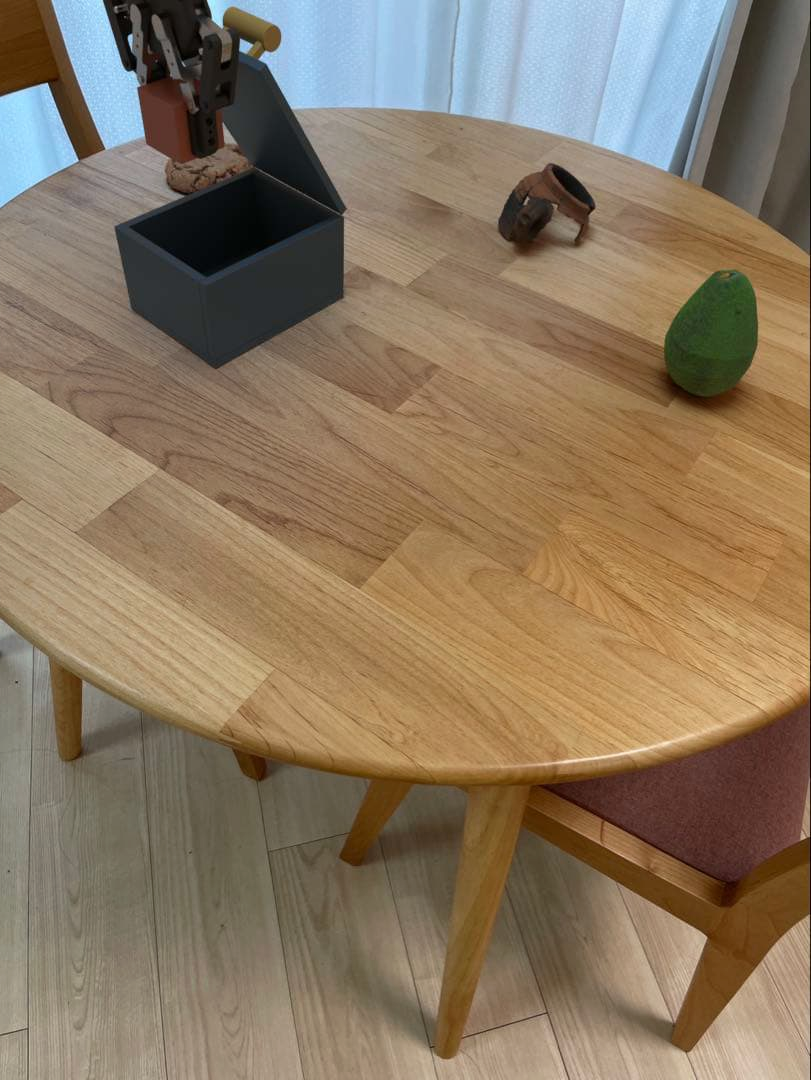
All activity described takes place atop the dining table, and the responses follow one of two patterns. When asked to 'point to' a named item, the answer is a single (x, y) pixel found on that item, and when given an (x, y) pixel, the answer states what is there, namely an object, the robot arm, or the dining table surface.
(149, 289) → the chest
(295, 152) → the lid
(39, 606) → the dining table surface
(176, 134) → the block
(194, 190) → the cookie
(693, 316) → the avocado
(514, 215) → the pottery mug
